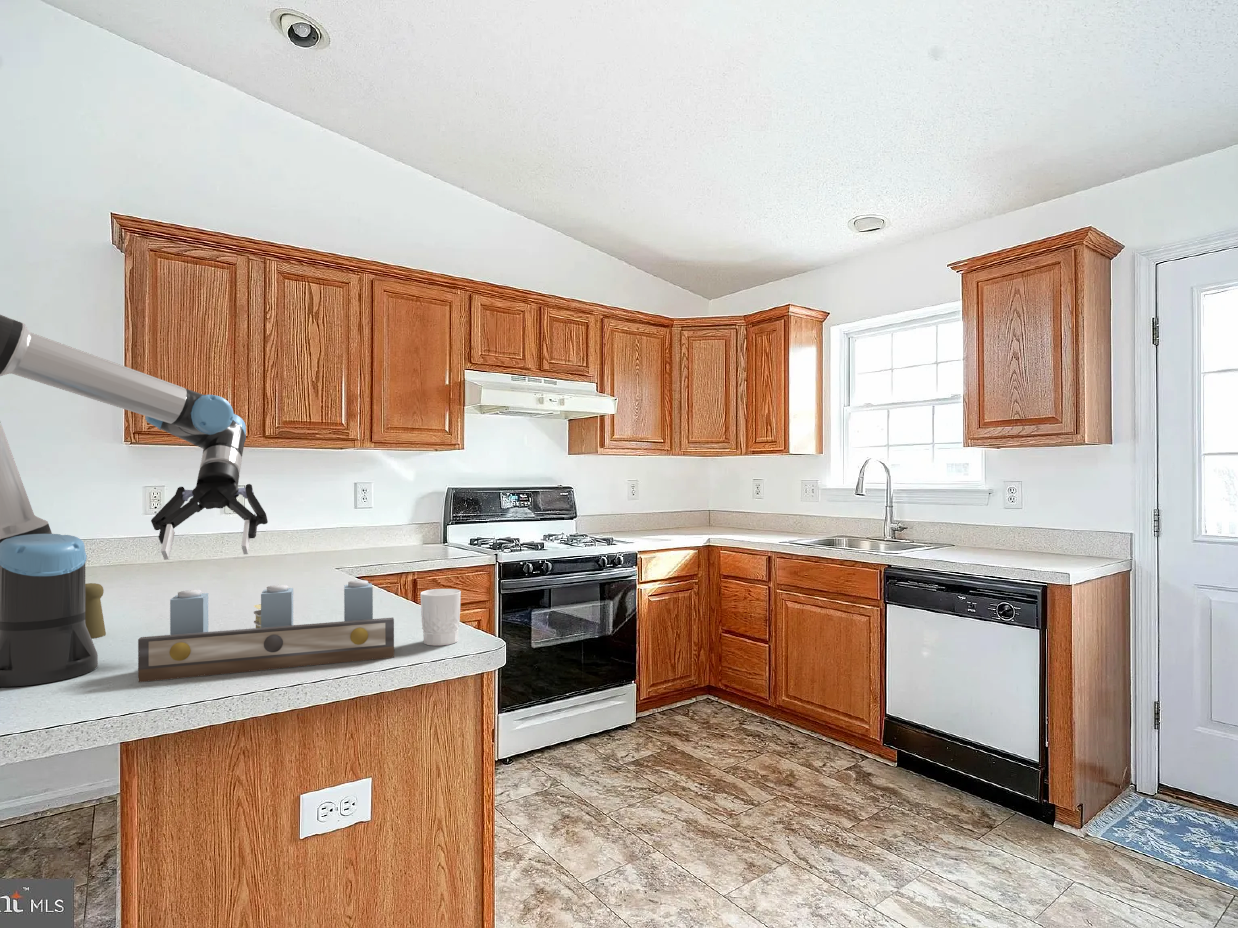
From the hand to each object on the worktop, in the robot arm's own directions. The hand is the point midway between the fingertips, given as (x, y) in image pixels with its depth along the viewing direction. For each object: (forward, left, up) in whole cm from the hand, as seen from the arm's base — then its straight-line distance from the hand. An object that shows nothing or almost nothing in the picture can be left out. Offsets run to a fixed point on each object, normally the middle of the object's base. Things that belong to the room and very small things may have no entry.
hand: (205, 552), depth 137 cm
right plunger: (+24, -18, -16) cm, 34 cm away
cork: (-18, +29, -19) cm, 39 cm away
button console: (+10, -15, -19) cm, 26 cm away
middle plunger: (+10, -14, -17) cm, 24 cm away
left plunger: (-4, -11, -17) cm, 20 cm away
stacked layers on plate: (+13, +13, -19) cm, 27 cm away
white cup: (+39, -21, -19) cm, 48 cm away
